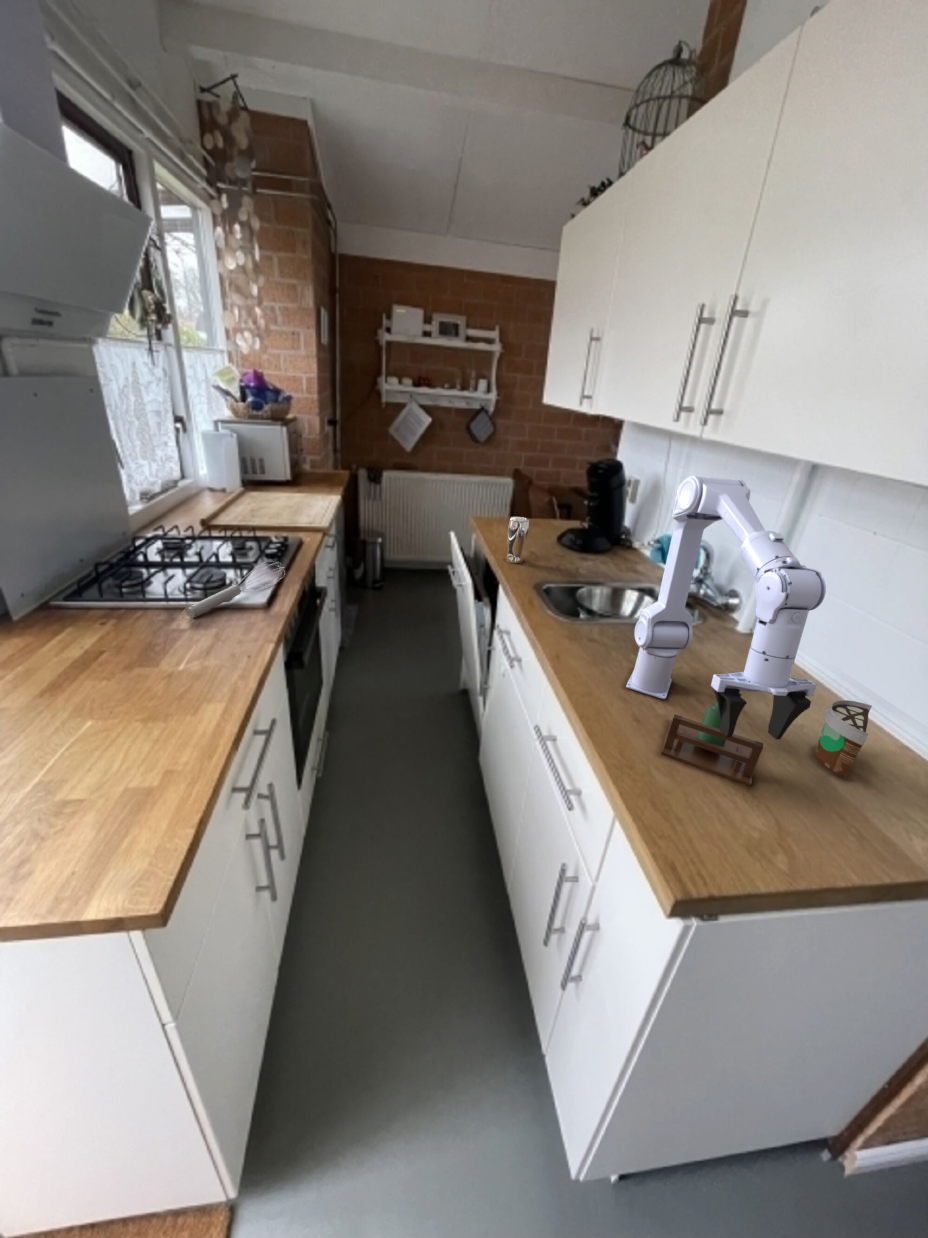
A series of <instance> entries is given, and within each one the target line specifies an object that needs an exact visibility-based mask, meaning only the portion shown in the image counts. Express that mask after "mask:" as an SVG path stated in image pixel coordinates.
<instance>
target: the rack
mask: <svg viewBox="0 0 928 1238" xmlns="http://www.w3.org/2000/svg"><path fill="white" fill-rule="evenodd" d="M699 731H701V732H704V733H707V734H710V735H713V736H716V737H719V738H722V739H725V740H726V742H725V745H724V747H722V746H719V745H716V744H713V743H710V742H707V741H704V740H701V739H698V738H697V736H698V732H699ZM763 749H764V742H761V741H758V740H754V739H751V738H748V737H745V736H742V735H739V734H736V733H733V735H732V737H731V738H730V737H726V736H725V735H724V734H723V733H722V732H721V731H720V729H718V728H715V727H711V726H708V725H705V724H702V722H699V721H696V720H693V719H690V718H688V717H687V718H686V717H684V716H682V715H679V714H676V713H674V714H673V717H672V720H671V719H670V721H669V724H668V728H667V732H666V734H665V738H664V741H663V745H662V749H661V752H660V755H661V756H665V757H667V758H668V757H669V758H670V759H673V760H676V761H679V762H681V763H684V764H686V765H690V766H692V767H695V768H698V769H701V770H703V771H706V772H709V773H712V774H715V775H717V776H720V777H723V778H726V779H729V780H730V781H734V782H737V783H740V784H743V785H745V786H747V787H751V786H752V783H753V773H754V771H755V768H756V767H757V764H758V761H759V759H760V757H761V754H762V752H763Z"/></svg>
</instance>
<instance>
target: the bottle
mask: <svg viewBox="0 0 928 1238" xmlns="http://www.w3.org/2000/svg"><path fill="white" fill-rule="evenodd" d="M701 723H702V724H705V725H708V726H711V727H715V728H718V729H720V715H719V708H718V703H717V699H715V703H714V705H710V707H708V706H706V707H705V709H704V713H703V716H702V720H701ZM697 738H698V739H701V740H704V741H707V742H710V743H713V744H716V745H719V746H722V747H724V745H725V742H726V740H725V739H722V738H719V737H716V736H713V735H710V734H707V733H704V732H701V731H699V732H698V736H697Z"/></svg>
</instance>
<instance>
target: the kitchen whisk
mask: <svg viewBox="0 0 928 1238" xmlns="http://www.w3.org/2000/svg"><path fill="white" fill-rule="evenodd" d="M272 562H273V563H272ZM265 563H268V565H266V564H265ZM269 563H270V560H268V561H264V562H262V563H260V564H259V565H257V566H256V567H254V568H253V569H252V570H250V572H249V573H247V574H246V575H245V576H244V577H243V578H242V579H241V580H240V581H239V582H238V583H237V584H233V585H231V586H229V587H227V588H224V589H223V590H220V591H219V592H217V593H214V594H213V595H211V596H208V597H205V599H204V598H203V600H200V601H198V602H196V603H194V604H192V605H190V606H187V607H186V608H185V609H183V611H182V612H181V616H180V617H181V618H182V619H183V620H186V621H188V620H190V619H191V620H193V619H194V618H195V617H198V616H200V615H202V614H204V613H206V612H208V611H210V610H212V609H214V608H216V607H218V606H219V605H221V604H224V603H226V602H227V601H229V600H232V599H234V598H235V597H237V596H239V595H241V593H242V592H243V593H247V592H249V591H250V590H251V592H254V591H256V589H257V588H258V589H257V591H260V590H264V589H267V588H270V587H272V586H274V585H275V584H277V583H278V582H279V581H280V580H281V579H283V578H284V577H285V575H286V571H285V570H283V569H285V566H282V563H281V562H279V561H273V560H271V563H270V564H269ZM263 564H264V565H263ZM274 565H275V567H278V568H274V569H272V570H269V571H267V572H265V573H263V574H260V575H259V576H257V577H254V576H255V575H257V574H258V573H260V572H261V571H264V569H266V568H269V567H270V566H274ZM262 567H263V568H262ZM259 568H262V569H260V570H259V571H257V570H258V569H259ZM275 570H277V571H275ZM254 571H257V572H256V573H255V574H253V575H252V576H250V577H248V576H249V575H251V574H252V573H253V572H254ZM273 571H274V572H273ZM282 571H283V572H282ZM270 572H273V573H271V574H269V575H267V576H265V577H263V578H260V577H261V576H264V575H265V574H268V573H270ZM279 573H280V578H278V579H277V580H275V581H273V582H271V581H272V580H273V578H271V579H269V580H268V581H266V582H264V583H261V584H260V585H257V586H254V587H250V588H247V589H244V588H245V587H248V586H250V585H253V584H254V583H257V582H260V581H261V580H263V579H266V578H268V577H271V576H272V575H275V576H274V578H276V577H277V576H278V574H279ZM283 573H284V574H283ZM282 575H283V576H282ZM247 577H248V579H246V580H245V578H247ZM253 577H254V578H253ZM251 578H253V579H251ZM257 578H260V579H258V580H256V579H257ZM250 579H251V580H250ZM244 580H245V581H244ZM254 580H256V581H254ZM242 581H243V582H242ZM252 581H254V582H252ZM241 582H242V583H241ZM251 582H252V583H251ZM269 582H270V583H269ZM248 583H249V584H248ZM268 585H269V586H268ZM264 586H266V587H264ZM260 587H263V588H260ZM241 589H242V590H241ZM253 589H254V590H253ZM184 611H185V613H186V615H187V616H188V617H189V618H184V616H183V613H184Z"/></svg>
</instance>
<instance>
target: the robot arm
mask: <svg viewBox="0 0 928 1238" xmlns="http://www.w3.org/2000/svg"><path fill="white" fill-rule="evenodd" d="M750 498H751V489H750V488H749V487H748V486H747V484H746V482H745V481H744V480H743V479H740V478H735V479H731V478H718V477H705V476H697V475H690V476H688V477H686V478H685V479H684V480H683V481H682V482H681V483H680V484H679V485H678V487H677V491H676V494H675V500H674V504H673V508H672V515H671V518H672V519H673V520H675V521H674V525H673V529H672V534H671V539H670V544H669V548H668V552H667V556H666V557H667V558H666V562H665V566H664V571H663V575H662V580H661V584H660V587H659V593H658V598H657V601H655V602H653V603H652V604H650V605H648V606H646V607H644V608H643V609H642V610H641V612H640V616H639V618H638V620H637V622H636V624H635V625H634V639H635V642H636V645H637V646H638V647H639V649H638V653H637V658H636V661H635V665H634V668H633V671H632V673H631V675H630V677H629V679H628V680H627V683H626V685H625V687H626V688H627V689H629V690H633V691H636V692H639V693H642V694H645V695H648V696H651V697H655V698H658V699H661V700H666V699H667V696H668V694H669V690H670V687H671V684H672V681H673V679H672V678H671V676H672V672H673V670H674V666H675V663H676V659H677V655H681V654H682V651H683V650H686V649H688V647H689V646H690V645H691V643H692V640H693V634H694V633H693V623H694V617H693V615H692V614H691V613H690V612H689V611H688V610H687V609H686V605H687V601H688V597H689V592H690V589H691V584H692V580H693V577H694V576H693V575H694V572H695V567H696V565H697V564H696V563H697V559H698V555H699V551H700V548H701V543H702V540H703V535H704V531H705V529H706V528H708V527H709V526H711V525H712V524H715V522H718V521H722V520H723V521H724V523H725V524H726V525H727V527H729V529H730V531H732V533H733V534H734V535H735V536H736V538H737V539H738V540H739V541H740V543H741V546H740V548H739V556H740V558H741V559H742V561H743V562H744V564H745V565H746V567H747V568H748V570H749V572H750V573H751V575H752V577H753V578H754V579H755V581H756V583H755V584H754V585H755V586H754V596H755V601H756V606H755V611H754V613H755V617H756V618H757V620H756V623H755V627H754V631H753V636H752V637H751V638H752V639H751V643H750V647H749V650H748V654H747V658H746V662H745V666H744V669H743V671H737V672H731V673H723V674H717V673H714V674H713V675H712V679H711V683H710V687H711V688H712V691H713V693H714V696H715V700H717V703H718V708H719V715H720V731H721V732H722V733H723V734H724V735H725V736H726V737H730V738H731V737H732V735H733V734H735V730H736V726H737V722H738V719H739V717H740V715H741V713H742V711H743V709H744V708H745V706H746V705H747V704H748V702H747V701H746V700H745V699H743V697H742V693H740V692H751V693H752V692H754V693H770V694H772V695H773V697H772V710H771V714H770V719H769V723H768V728H767V733H768V734H769V735H770V736H771V737H772V738H774V739H775V740H776V741H777V740H778V741H779V740H781V739H782V737H783V736H784V734H785V733H786V731H787V730H788V729H789V727H790V726H791V725H792V724H793V722H794V721H796V719H797V718H798V717H799V716H800V715H801V714H803V713H805V712H806V711H807V710H808V709H810V707H811V705H812V701H811V700H810V699H809V698H807V697H814V695H815V692H816V688H817V686H818V684H817V683H815V682H813V681H812V680H810V679H808V678H799V677H792V676H791V674H792V671H793V669H794V668H793V667H794V664H795V661H796V657H797V654H798V650H799V648H800V644H801V639H802V637H803V633H804V630H805V626H806V624H807V623H806V622H807V619H808V616H809V612H810V611H814V610H816V609H817V608H819V607H820V606H821V604H822V603H823V602H824V599H825V596H826V593H827V585H826V581H825V579H824V577H823V575H822V572H821V571H819V570H818V569H815V568H808V567H807V566H806V565H805V564H801V563H800V561H799V559H798V558H797V557H796V556H795V555H794V554H793V552H792V550H790V548H789V546H788V545H787V544H786V543H785V541H784V540H785V537H784V536H783V535H782V533H780V532H776V531H773V530H765V528H764V526H763V524H762V522H761V521H760V519H759V517H758V515H757V513H756V512H755V510H754V508H753V507H752V506H753V505H751V503H750Z"/></svg>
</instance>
